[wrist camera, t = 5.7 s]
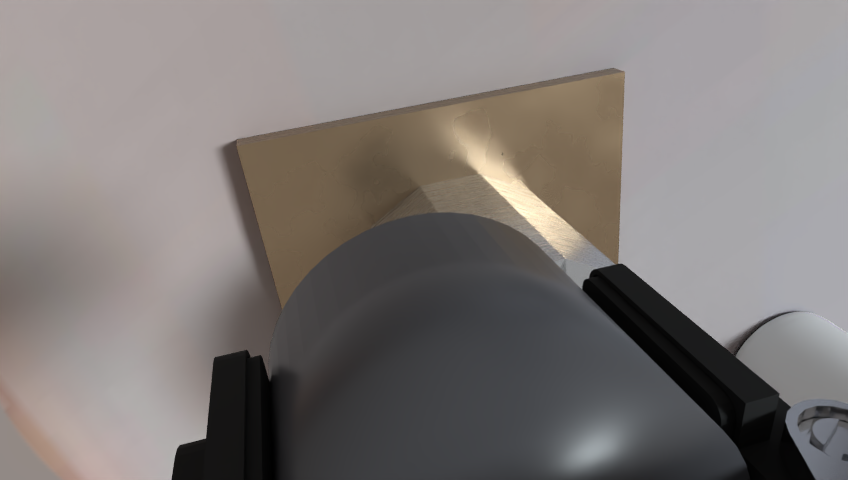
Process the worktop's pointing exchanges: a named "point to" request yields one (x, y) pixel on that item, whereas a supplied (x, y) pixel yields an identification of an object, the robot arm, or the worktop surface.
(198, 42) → the worktop surface
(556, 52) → the worktop surface
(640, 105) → the worktop surface
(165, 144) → the worktop surface
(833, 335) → the pill bottle
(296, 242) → the ball socket mount
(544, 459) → the cap
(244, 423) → the robot arm
